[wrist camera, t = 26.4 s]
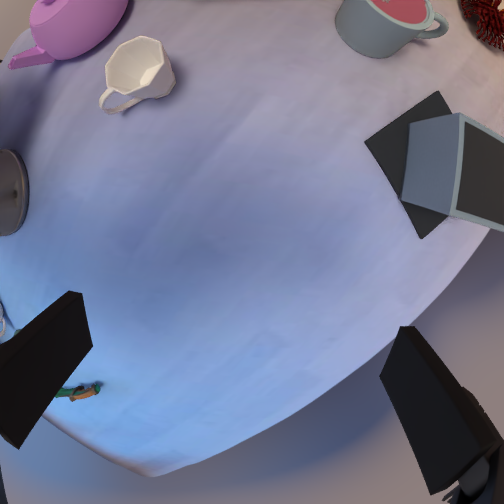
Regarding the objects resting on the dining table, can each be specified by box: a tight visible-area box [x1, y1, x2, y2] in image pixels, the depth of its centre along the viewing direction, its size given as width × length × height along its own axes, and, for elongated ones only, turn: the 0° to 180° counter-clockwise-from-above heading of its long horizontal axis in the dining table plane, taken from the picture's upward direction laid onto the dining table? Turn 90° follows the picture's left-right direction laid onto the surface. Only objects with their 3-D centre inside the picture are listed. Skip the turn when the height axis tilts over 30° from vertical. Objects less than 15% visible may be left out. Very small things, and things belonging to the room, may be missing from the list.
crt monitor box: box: [399, 113, 504, 232], centre depth 24 cm, size 10×11×10 cm
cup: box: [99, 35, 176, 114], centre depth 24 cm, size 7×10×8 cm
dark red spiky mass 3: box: [461, 0, 504, 51], centre depth 14 cm, size 25×20×13 cm
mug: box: [335, 0, 449, 58], centre depth 20 cm, size 14×9×10 cm
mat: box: [365, 91, 452, 239], centre depth 29 cm, size 15×15×1 cm
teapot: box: [8, 0, 128, 70], centre depth 18 cm, size 22×16×12 cm
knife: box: [55, 384, 100, 402], centre depth 42 cm, size 21×2×5 cm, turn 112°
